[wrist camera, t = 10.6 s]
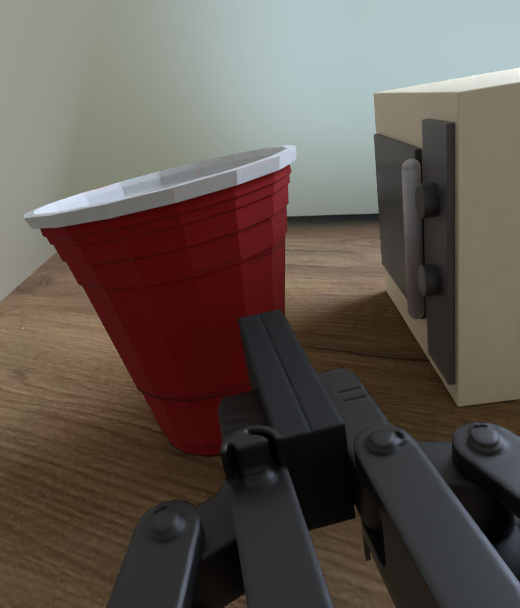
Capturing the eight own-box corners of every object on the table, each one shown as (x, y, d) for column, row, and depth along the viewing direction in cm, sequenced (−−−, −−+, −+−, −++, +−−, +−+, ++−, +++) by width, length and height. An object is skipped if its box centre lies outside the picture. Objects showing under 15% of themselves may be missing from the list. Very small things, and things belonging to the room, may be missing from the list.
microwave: (434, 410, 22) (428, 97, 17) (371, 292, 34) (356, 95, 29) (694, 378, 21) (771, 38, 16) (530, 269, 34) (543, 63, 29)
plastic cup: (198, 348, 31) (152, 153, 26) (362, 374, 25) (340, 132, 20) (58, 461, 23) (-46, 206, 18) (255, 537, 17) (177, 194, 12)
